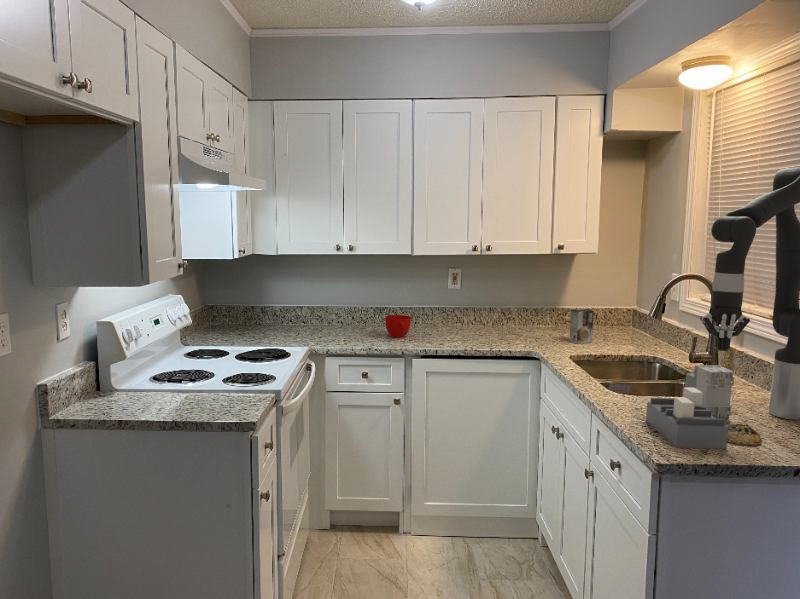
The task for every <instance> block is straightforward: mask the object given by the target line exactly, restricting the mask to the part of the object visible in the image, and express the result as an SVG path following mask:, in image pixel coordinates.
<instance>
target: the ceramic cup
mask: <svg viewBox="0 0 800 599" xmlns="http://www.w3.org/2000/svg"><path fill="white" fill-rule="evenodd" d="M384 319H385V328H386V331H387V332H388V335H390V337H392V338H396V339H400V338H401V339H402V338H405V336H407V334H408V333H409V330H410V328H411V323H412V317H411V316H410V315H405V314H391V315H386V316H385V317H384Z"/></svg>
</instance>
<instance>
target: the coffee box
mask: <svg viewBox="0 0 800 599" xmlns="http://www.w3.org/2000/svg"><path fill="white" fill-rule="evenodd" d="M594 311H595V310H592V309H589V308H578V309H577V308H575V309H570V322H569V324H570V326H569V342H571V343H574V344H576V345H578V344H579V343H580V344H591V343H593V333H594V332H593V330H594V313H595V312H594Z"/></svg>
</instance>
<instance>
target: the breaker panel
mask: <svg viewBox="0 0 800 599" xmlns="http://www.w3.org/2000/svg"><path fill="white" fill-rule="evenodd" d="M674 398H675V397H650V401H647V402H646V412H645V413H646V415H645V422H646V423H647V424H648V425H649V426H651V427H652V428H653V429H654V430H655V431H657V432H658V433H659V434H660V435H661V436H662V437H663V438H664V439H665V440H667V441H668V442H669V443H670V444H671V445H673V446H674V448H678V449H679V448H680V449H681V448H683V449H711V450H712V449H716V450H719V449H720V450H721V449H722V450H727V445H728V442H727V439H728V429H729V427H728V426H727V425H726V421H725V420H724V419H718V418H714V417H713V416H711V412H712V411H711V410H706V407H704V406H694V415H693V418H682V417H677V418H676V417H675V416H674V415H673V409H674Z"/></svg>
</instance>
